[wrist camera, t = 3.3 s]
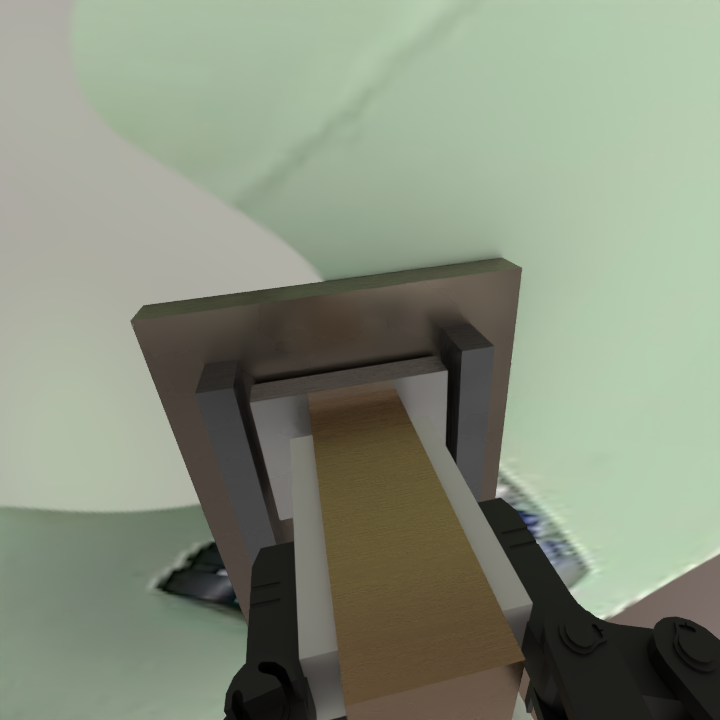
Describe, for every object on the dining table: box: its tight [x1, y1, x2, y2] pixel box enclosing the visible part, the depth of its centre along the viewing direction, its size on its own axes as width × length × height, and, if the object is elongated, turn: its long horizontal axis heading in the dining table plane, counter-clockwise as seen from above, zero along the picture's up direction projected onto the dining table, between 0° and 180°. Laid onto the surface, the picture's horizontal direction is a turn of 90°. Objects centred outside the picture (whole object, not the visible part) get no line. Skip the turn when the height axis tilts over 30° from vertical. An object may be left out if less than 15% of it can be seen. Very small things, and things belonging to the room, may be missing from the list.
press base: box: [131, 258, 522, 720], centre depth 19 cm, size 14×24×6 cm, turn 4°
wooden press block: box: [250, 356, 526, 720], centre depth 13 cm, size 7×8×10 cm
